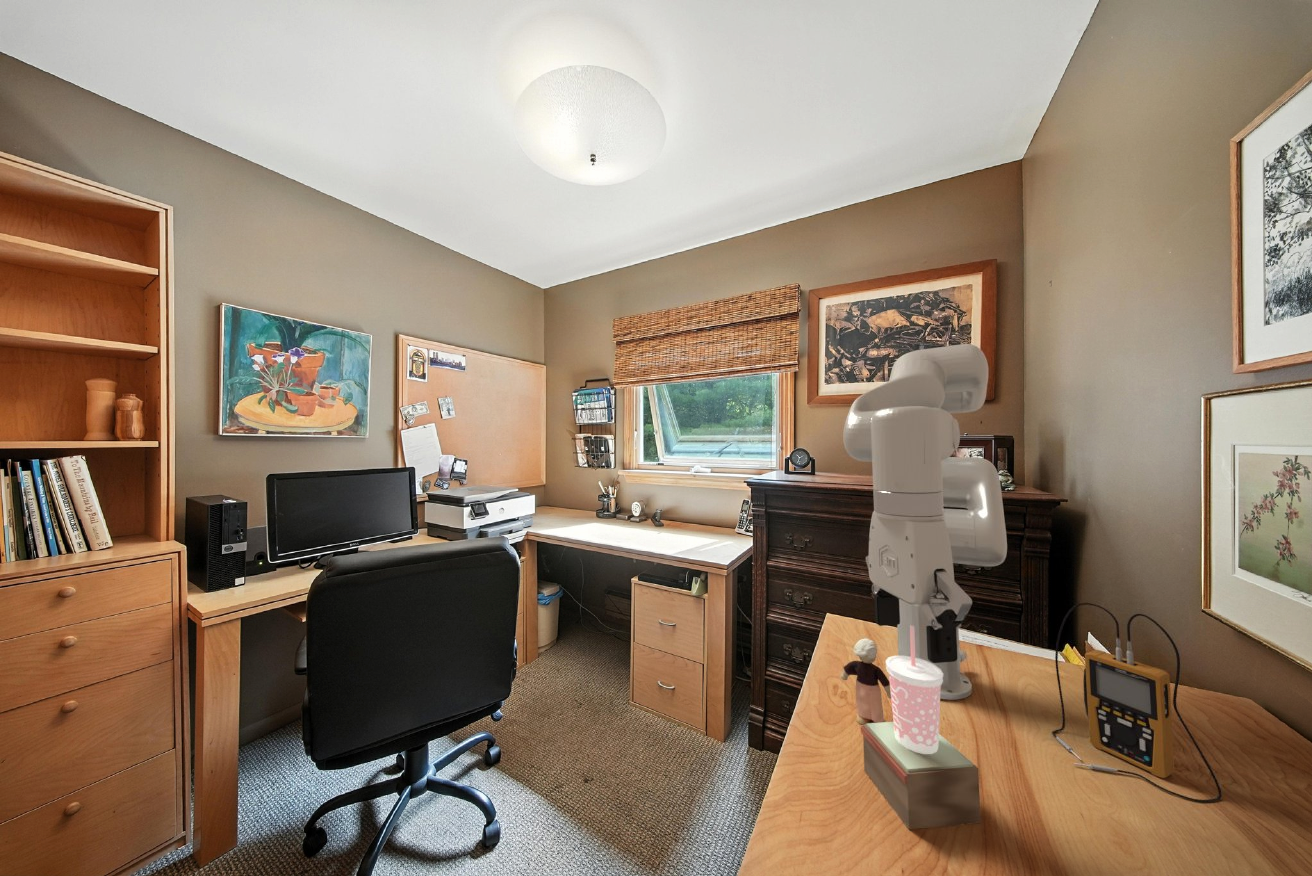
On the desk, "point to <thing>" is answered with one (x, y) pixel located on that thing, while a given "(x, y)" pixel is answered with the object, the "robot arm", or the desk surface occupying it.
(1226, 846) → the desk surface
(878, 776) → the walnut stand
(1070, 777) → the desk surface
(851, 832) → the desk surface
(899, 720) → the beverage cup
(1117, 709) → the multimeter
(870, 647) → the grandmother figurine
